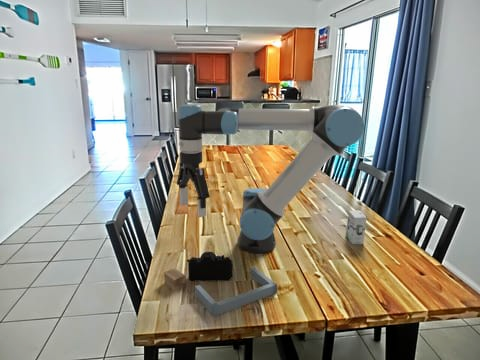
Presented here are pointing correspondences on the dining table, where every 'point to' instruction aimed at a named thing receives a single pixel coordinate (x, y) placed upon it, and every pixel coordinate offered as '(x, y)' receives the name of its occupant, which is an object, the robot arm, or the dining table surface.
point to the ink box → (356, 227)
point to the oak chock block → (174, 279)
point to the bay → (241, 299)
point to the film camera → (210, 268)
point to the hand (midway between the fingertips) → (192, 210)
